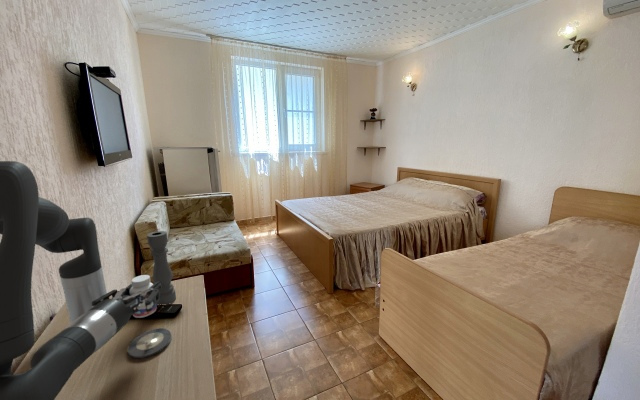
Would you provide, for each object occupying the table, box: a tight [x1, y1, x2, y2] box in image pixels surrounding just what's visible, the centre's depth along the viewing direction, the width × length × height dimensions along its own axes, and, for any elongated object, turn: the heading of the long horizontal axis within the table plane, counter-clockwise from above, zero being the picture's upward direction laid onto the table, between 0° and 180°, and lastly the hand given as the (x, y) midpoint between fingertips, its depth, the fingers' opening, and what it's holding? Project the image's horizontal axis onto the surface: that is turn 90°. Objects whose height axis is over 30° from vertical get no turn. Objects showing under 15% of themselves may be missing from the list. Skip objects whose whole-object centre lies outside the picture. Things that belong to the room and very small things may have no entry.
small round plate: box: [127, 327, 172, 359], centre depth 72 cm, size 10×10×1 cm
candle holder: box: [146, 230, 177, 305], centre depth 89 cm, size 6×6×25 cm
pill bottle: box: [129, 274, 158, 319], centre depth 68 cm, size 6×5×10 cm
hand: (148, 284), depth 71 cm, fingers closed on pill bottle, 5 cm apart
